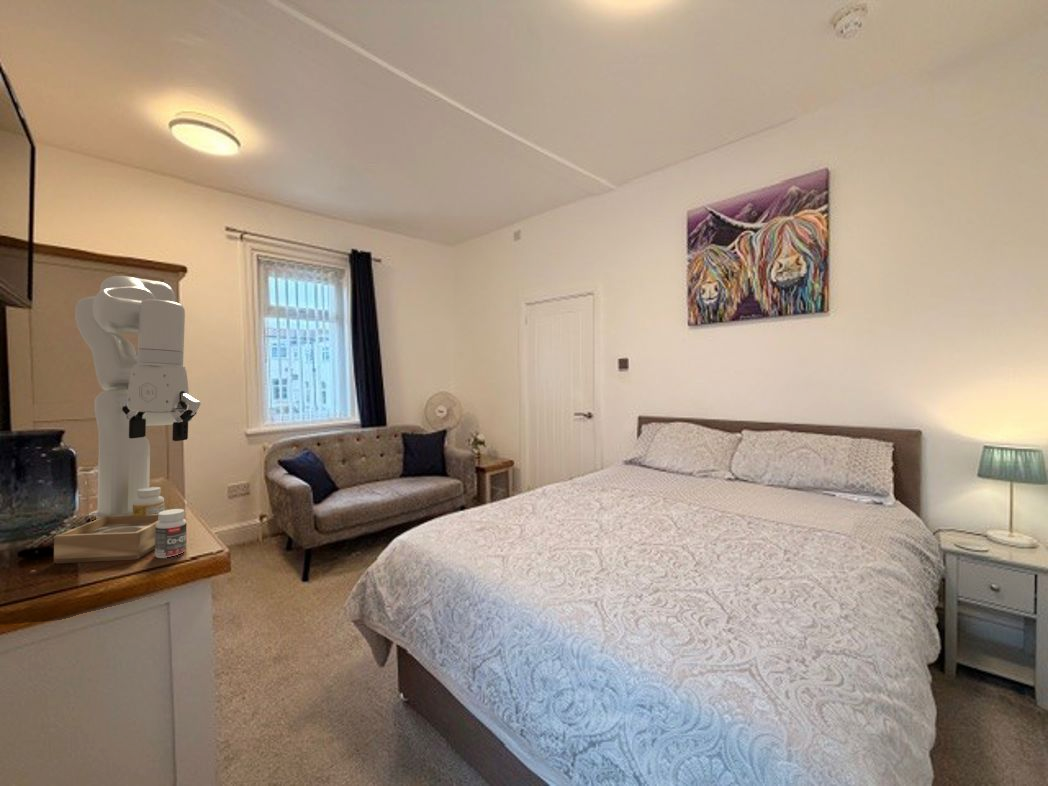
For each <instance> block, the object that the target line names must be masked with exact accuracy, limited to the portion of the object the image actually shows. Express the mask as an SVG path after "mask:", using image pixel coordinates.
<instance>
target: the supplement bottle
mask: <svg viewBox="0 0 1048 786" xmlns="http://www.w3.org/2000/svg"><path fill="white" fill-rule="evenodd" d="M161 490H162V489H161V487H160V486H149V487H147V488H141V489H138V490H137V496H138V497H139V498H137V499H136V500H135V501H134V502H133V515H144V514H158V513H159V512H162V511H165V497H163V496H161V493H162V491H161Z"/></svg>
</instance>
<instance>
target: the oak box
mask: <svg viewBox="0 0 1048 786" xmlns="http://www.w3.org/2000/svg"><path fill="white" fill-rule="evenodd" d="M158 522H160V521H158V514H144V515H113V516H103V517H101V518H98V519H96V520H94V521H92V520H90V521H89V522H86V523H84V524H82V525H79V526H76V527H74V528H72V529H69V530H67V531H64V532H62V533H59V534H57V535H54V537H53V538H54V539H53V564H54V563H56V564H71V563H72V564H73V563H89V562H90V563H92V562H110V561H111V562H112V561H115V562H116V561H130V560H132V561H133V560H138V559H140V558H142V557H143V556H145V555H147V554H149V553H150V552H151V551H153V550H154V551H155V528H156V524H157V523H158Z"/></svg>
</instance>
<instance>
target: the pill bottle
mask: <svg viewBox="0 0 1048 786" xmlns="http://www.w3.org/2000/svg"><path fill="white" fill-rule="evenodd" d="M158 521H160V522H158V523H157V524H156V528H155V549H154V557H156V558H158V559H168V558H167V557H171V556H174V555H178V554H180V553H183V552H184V551H185V550H186V549H187V521H186V519H185V509H184V508H172V509H164V511H162V512H159V513H158ZM185 552H186V551H185ZM185 552H184V553H185ZM184 553H183V554H184ZM178 556H179V555H178ZM171 558H172V557H171Z"/></svg>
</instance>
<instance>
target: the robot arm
mask: <svg viewBox="0 0 1048 786" xmlns="http://www.w3.org/2000/svg"><path fill="white" fill-rule="evenodd" d="M74 315H75V316H74V317H75V324H76V326H77V329H78V332H79V333H80V335H81V338H82V339H83V340H84V342H85V344H86V345H87V346H88V348H89V349H90V351H91V354H92V359H93V365H94V370H95V375H96V380H97V383H98V385H99V387H100V388H102V390H103V391H102V392H99V393H98V395H96V397H95V399H94V403H93V404H94V405H93V408H94V415H95V420H96V425H97V427H96V428H97V432H98V433H97V435H98V463H97V464H98V465H97V509H95V510H93V511H90V512H89V513H88V515H94V516H96V518H97V519H98V518H101V517H103V516H113V515H133V502H134V501H135V500H136V499H137V498H139V497H138V496H137V490H138V489H141V488H147V487H150V473H151V472H150V469H151V468H150V467H151V464H150V463H151V462H150V461H151V444H150V441H149V439H148V438H147V436H146V434H147V432H146V430H147V429H146V428H147V426H148V427H149V426H150V427H152V426H153V427H155V426H169V425H172V441H173V442H181V441H187V440H188V438H189V437H188V436H189V422H191V421H192V420H193V418H194V417H195V416H196V415H197V411H198V410H199V409H200V407H201V405H202V404H201V401H199V400H197V399H195V398H194V397H192V396H191V395H189V381H188V374H187V373H188V372H187V369H186V366H184V357H185V355H184V354H185V353H184V350H185V323H186V322H185V321H186V320H185V319H186V312H185V307H184V306H183V305H182V304H180V303H178V302H176V295H175V291H174V290H173V289H172V287H171V286H170V285H168V284H167V283H165V282H162V281H158V280H151V279H145V278H139V277H133V276H126V275H112V276H109V277H107V278H105V279H104V280H103V281H102V282H101V284H100V287H99V291H98V293H96V295H95V296H94V295H93V296H86V297H83V298H81V299H79V300H78V301H77V303H76V305H75V309H74ZM122 334H124V335H125V334H126V335H133V336H134V335H135V336H136V335H137V337H138V338H137V352H136V348H135V346H134V345H133V344H132V343H131V341H129V340H128V339H127V338H126V337H125V336H123V335H122Z"/></svg>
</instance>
